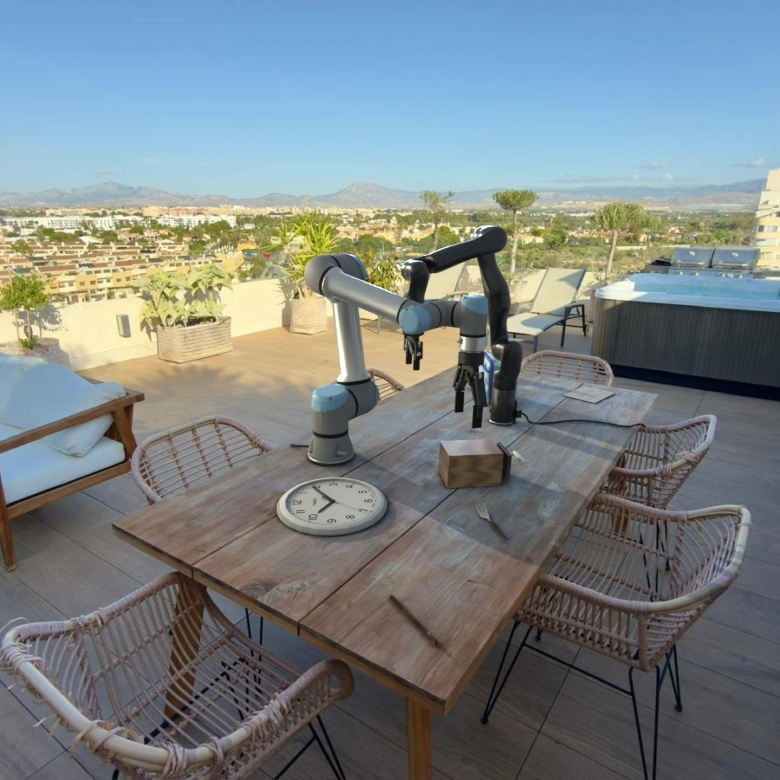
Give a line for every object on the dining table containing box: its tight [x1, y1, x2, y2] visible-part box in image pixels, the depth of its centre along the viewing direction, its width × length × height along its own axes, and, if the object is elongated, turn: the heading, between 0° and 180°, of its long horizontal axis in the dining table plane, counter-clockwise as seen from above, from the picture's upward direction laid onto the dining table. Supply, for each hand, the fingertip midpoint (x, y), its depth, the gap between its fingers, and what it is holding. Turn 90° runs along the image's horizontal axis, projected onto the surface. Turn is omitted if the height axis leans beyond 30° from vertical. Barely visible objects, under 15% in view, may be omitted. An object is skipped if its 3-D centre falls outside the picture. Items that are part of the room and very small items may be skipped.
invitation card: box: [562, 385, 616, 404], centre depth 242 cm, size 21×1×15 cm
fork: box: [475, 502, 508, 541], centre depth 134 cm, size 3×16×2 cm, turn 16°
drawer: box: [496, 441, 528, 482], centre depth 159 cm, size 21×10×8 cm, turn 98°
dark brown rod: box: [389, 593, 438, 646], centre depth 101 cm, size 15×1×1 cm, turn 34°
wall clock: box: [276, 476, 388, 537], centre depth 142 cm, size 30×2×30 cm
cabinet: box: [438, 438, 503, 489], centre depth 158 cm, size 16×11×10 cm
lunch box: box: [479, 351, 501, 406], centre depth 230 cm, size 26×11×21 cm, turn 179°
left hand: (467, 419), depth 156 cm, fingers open, 13 cm apart
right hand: (412, 367), depth 182 cm, fingers open, 8 cm apart
